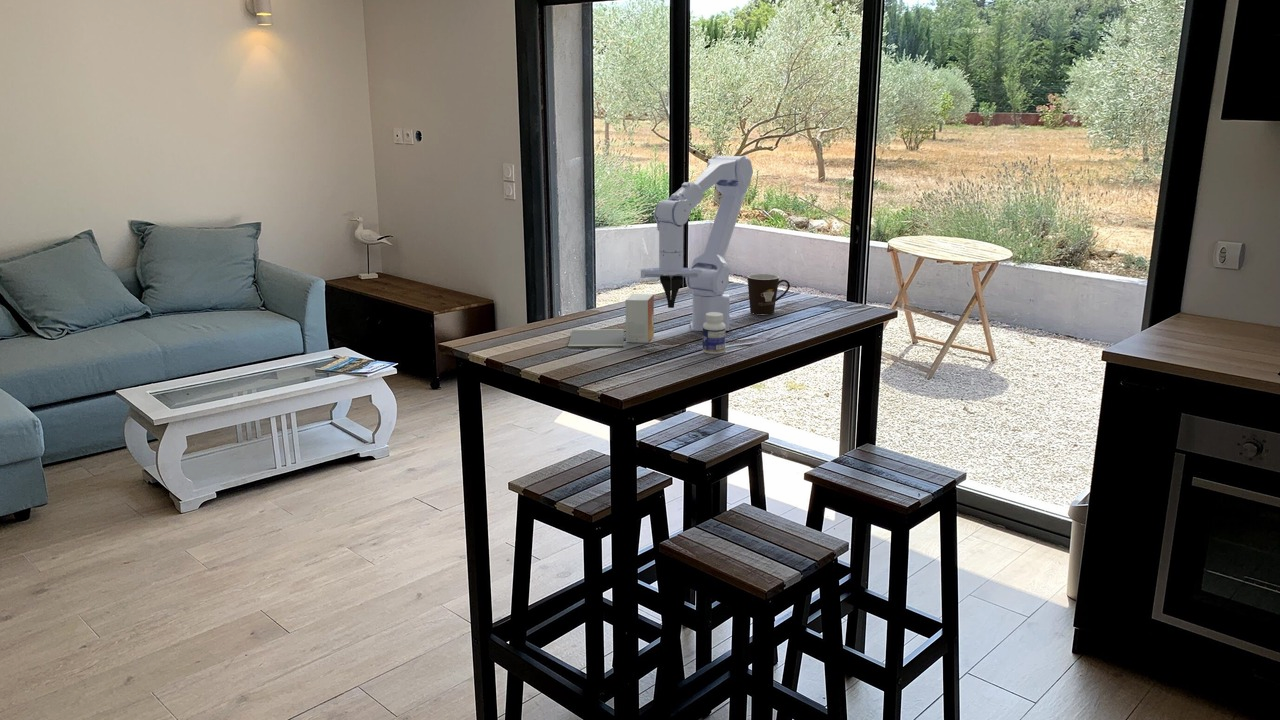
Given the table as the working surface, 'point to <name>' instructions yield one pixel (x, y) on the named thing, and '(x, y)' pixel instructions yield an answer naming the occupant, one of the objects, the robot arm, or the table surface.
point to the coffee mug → (764, 292)
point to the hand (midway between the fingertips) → (670, 307)
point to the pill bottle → (714, 333)
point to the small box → (639, 318)
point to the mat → (596, 338)
